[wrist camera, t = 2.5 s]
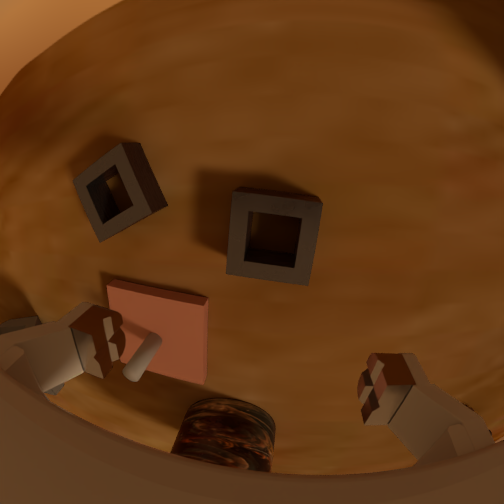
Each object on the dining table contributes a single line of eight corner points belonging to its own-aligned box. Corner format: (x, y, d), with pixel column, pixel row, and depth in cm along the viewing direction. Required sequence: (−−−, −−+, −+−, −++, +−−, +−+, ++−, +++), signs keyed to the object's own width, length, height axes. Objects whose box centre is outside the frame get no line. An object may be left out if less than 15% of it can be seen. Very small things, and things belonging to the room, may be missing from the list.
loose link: (92, 176, 22) (72, 180, 20) (140, 143, 21) (120, 142, 18) (118, 233, 24) (99, 242, 21) (168, 205, 22) (152, 212, 20)
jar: (262, 452, 33) (249, 539, 19) (184, 433, 33) (153, 516, 19) (286, 409, 29) (277, 524, 15) (189, 385, 29) (143, 493, 15)
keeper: (114, 278, 26) (73, 313, 19) (208, 297, 25) (182, 344, 18) (126, 354, 29) (97, 393, 22) (206, 375, 28) (188, 423, 22)
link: (240, 186, 21) (232, 191, 18) (318, 196, 21) (322, 203, 18) (233, 259, 23) (225, 273, 20) (306, 269, 23) (308, 285, 20)
